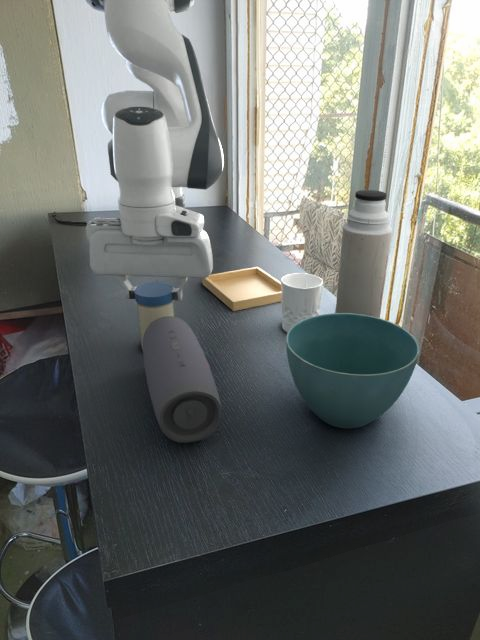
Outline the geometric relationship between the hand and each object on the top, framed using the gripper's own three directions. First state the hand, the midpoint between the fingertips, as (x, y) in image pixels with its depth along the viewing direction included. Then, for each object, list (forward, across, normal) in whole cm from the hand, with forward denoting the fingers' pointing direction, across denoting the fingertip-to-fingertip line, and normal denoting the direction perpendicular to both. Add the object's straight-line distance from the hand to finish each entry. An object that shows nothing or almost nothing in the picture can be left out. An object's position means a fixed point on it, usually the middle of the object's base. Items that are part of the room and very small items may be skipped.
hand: (155, 298), depth 91 cm
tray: (+9, +14, +27) cm, 32 cm away
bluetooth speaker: (+10, +7, -18) cm, 21 cm away
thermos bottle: (+10, +36, +2) cm, 37 cm away
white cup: (+10, +26, +9) cm, 29 cm away
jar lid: (-1, 0, 0) cm, 1 cm away
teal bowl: (+10, +32, -18) cm, 38 cm away
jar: (+9, 0, 0) cm, 9 cm away
